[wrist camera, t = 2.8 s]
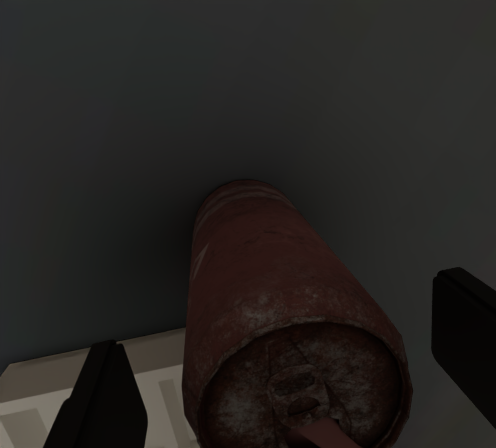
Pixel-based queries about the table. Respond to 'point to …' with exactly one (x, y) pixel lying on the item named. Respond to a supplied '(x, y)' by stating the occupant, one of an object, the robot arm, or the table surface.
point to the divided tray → (63, 381)
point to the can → (284, 335)
